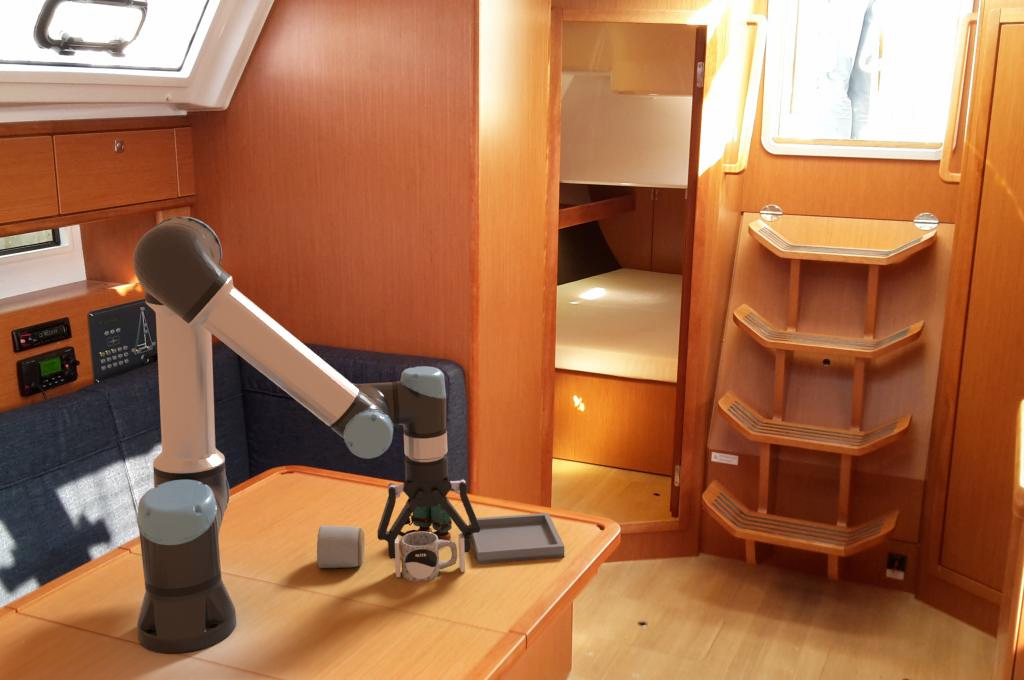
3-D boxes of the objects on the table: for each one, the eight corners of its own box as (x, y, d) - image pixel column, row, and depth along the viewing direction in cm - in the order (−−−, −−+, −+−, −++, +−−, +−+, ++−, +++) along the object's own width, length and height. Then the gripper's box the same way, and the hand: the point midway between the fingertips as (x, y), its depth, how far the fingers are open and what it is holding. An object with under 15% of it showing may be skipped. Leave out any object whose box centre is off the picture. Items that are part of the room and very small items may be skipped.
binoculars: (386, 500, 193) (418, 478, 201) (392, 550, 197) (423, 527, 205) (424, 509, 189) (455, 487, 197) (430, 560, 192) (460, 536, 200)
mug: (404, 583, 181) (402, 548, 180) (400, 567, 187) (398, 533, 186) (460, 577, 183) (459, 542, 182) (454, 562, 189) (453, 528, 188)
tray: (478, 563, 188) (478, 552, 188) (468, 529, 204) (468, 518, 203) (564, 557, 191) (564, 545, 190) (548, 523, 206) (548, 512, 206)
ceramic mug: (363, 573, 185) (361, 533, 184) (317, 575, 185) (314, 535, 183) (367, 549, 196) (365, 511, 194) (323, 551, 195) (321, 513, 193)
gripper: (489, 444, 186) (491, 557, 190) (358, 452, 182) (364, 567, 187) (494, 457, 178) (497, 575, 183) (359, 466, 175) (365, 586, 180)
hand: (430, 571), depth 185 cm, fingers open, 11 cm apart
